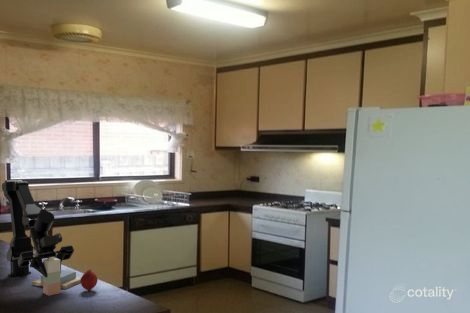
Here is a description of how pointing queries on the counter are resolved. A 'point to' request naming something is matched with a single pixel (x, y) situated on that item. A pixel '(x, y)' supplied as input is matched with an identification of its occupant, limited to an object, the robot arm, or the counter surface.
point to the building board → (63, 285)
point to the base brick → (65, 276)
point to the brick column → (51, 276)
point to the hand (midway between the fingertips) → (53, 275)
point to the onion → (89, 280)
